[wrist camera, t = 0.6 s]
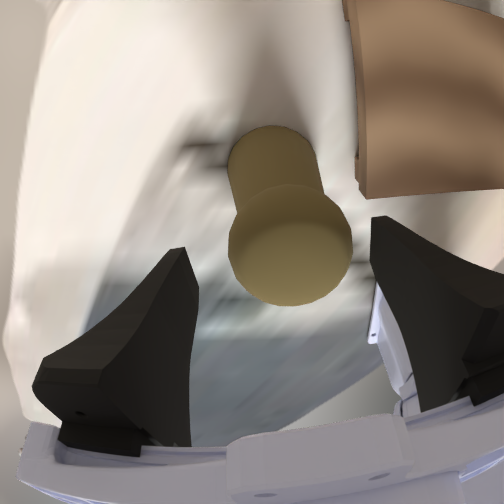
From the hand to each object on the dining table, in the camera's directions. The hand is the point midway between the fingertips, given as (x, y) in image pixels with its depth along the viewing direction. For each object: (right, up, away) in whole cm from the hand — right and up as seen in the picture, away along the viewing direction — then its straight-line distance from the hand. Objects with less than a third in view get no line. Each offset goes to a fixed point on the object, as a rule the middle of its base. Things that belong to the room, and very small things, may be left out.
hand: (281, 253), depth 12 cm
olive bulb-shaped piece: (0, +6, +9) cm, 11 cm away
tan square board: (+11, +11, +5) cm, 17 cm away
